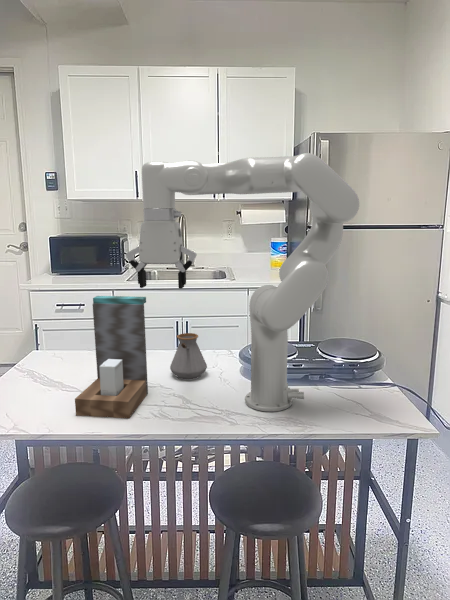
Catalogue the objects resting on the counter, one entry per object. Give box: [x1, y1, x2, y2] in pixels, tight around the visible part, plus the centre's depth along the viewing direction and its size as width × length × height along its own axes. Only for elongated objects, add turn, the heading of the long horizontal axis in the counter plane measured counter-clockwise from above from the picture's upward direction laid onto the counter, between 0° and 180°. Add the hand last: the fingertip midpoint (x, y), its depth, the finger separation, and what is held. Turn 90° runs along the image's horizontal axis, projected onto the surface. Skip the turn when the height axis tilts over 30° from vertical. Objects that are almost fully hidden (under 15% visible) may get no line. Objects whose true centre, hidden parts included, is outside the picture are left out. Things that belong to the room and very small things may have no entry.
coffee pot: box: [169, 332, 208, 381], centre depth 135 cm, size 21×12×15 cm, turn 179°
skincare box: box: [99, 359, 124, 396], centre depth 119 cm, size 6×4×12 cm
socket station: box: [74, 295, 149, 419], centre depth 119 cm, size 14×18×28 cm
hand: (162, 287), depth 111 cm, fingers open, 9 cm apart
